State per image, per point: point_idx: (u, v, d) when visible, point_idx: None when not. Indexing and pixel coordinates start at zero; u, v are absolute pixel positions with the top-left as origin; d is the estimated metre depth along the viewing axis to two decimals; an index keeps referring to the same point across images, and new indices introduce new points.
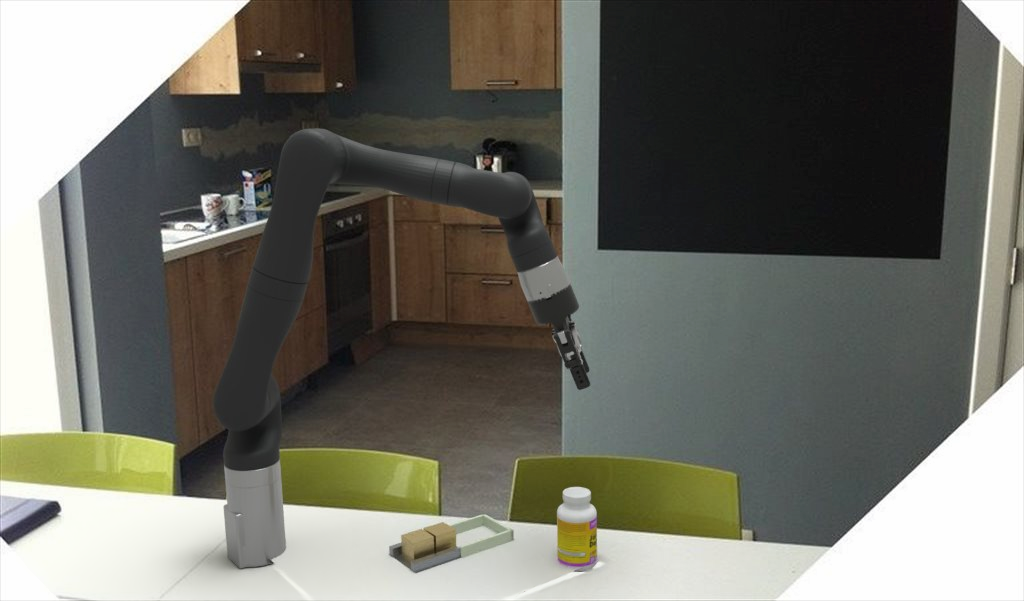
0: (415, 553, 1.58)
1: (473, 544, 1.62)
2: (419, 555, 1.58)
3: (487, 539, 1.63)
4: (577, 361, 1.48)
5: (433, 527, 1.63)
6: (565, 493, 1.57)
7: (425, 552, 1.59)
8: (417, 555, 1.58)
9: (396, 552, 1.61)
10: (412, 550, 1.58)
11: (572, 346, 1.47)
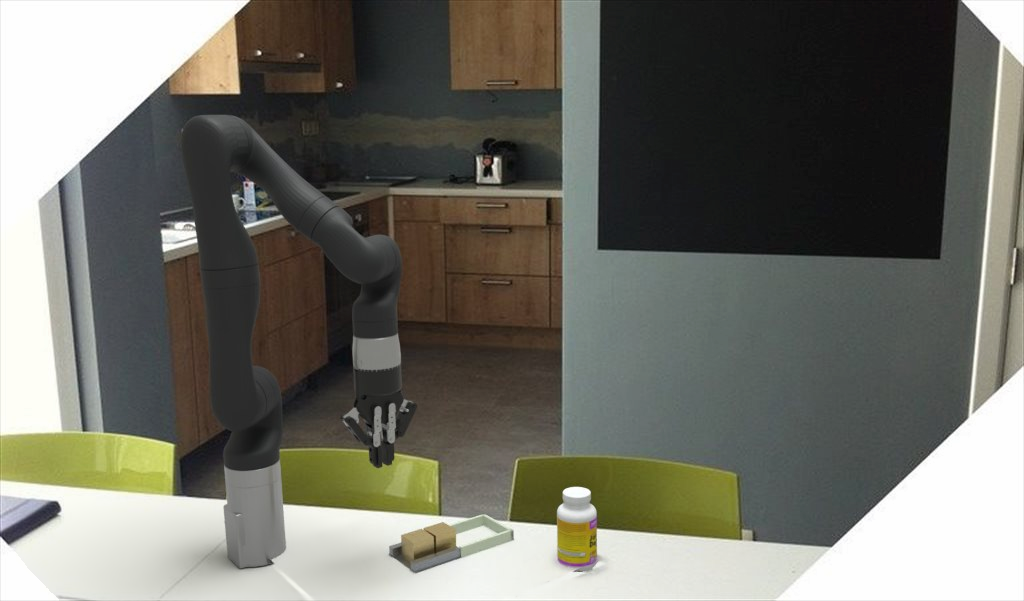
0: (415, 553, 1.58)
1: (473, 544, 1.62)
2: (419, 555, 1.58)
3: (487, 539, 1.63)
4: None
5: (433, 527, 1.63)
6: (565, 493, 1.57)
7: (425, 552, 1.59)
8: (417, 555, 1.58)
9: (396, 552, 1.61)
10: (412, 550, 1.58)
11: (354, 433, 1.49)
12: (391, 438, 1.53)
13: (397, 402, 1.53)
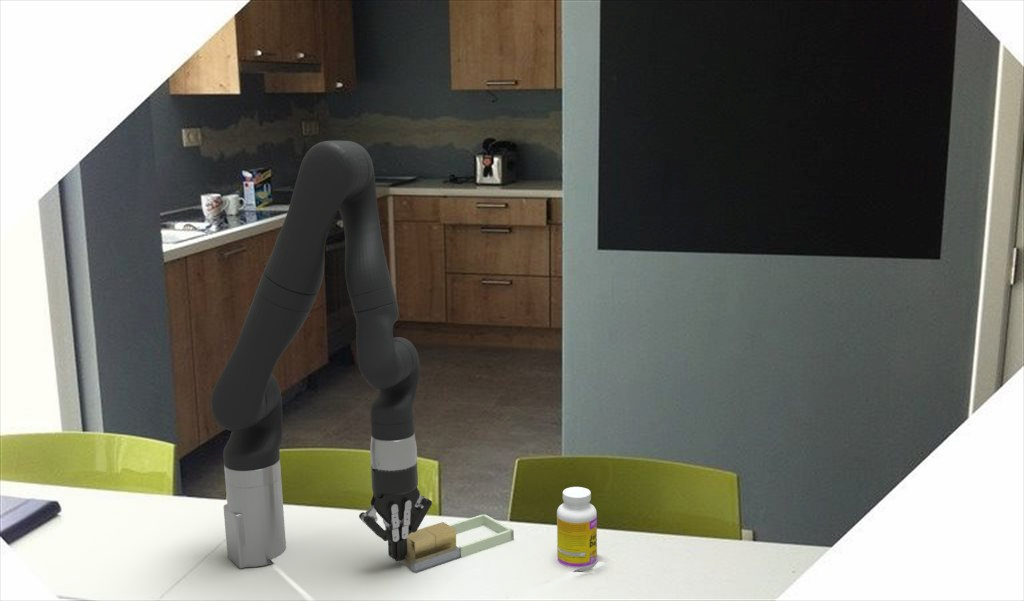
0: (416, 552, 1.58)
1: (473, 544, 1.62)
2: (421, 555, 1.59)
3: (487, 539, 1.63)
4: None
5: (433, 527, 1.63)
6: (565, 493, 1.57)
7: (427, 551, 1.59)
8: (419, 554, 1.58)
9: None
10: (413, 549, 1.58)
11: (373, 530, 1.53)
12: (404, 534, 1.57)
13: (413, 498, 1.57)
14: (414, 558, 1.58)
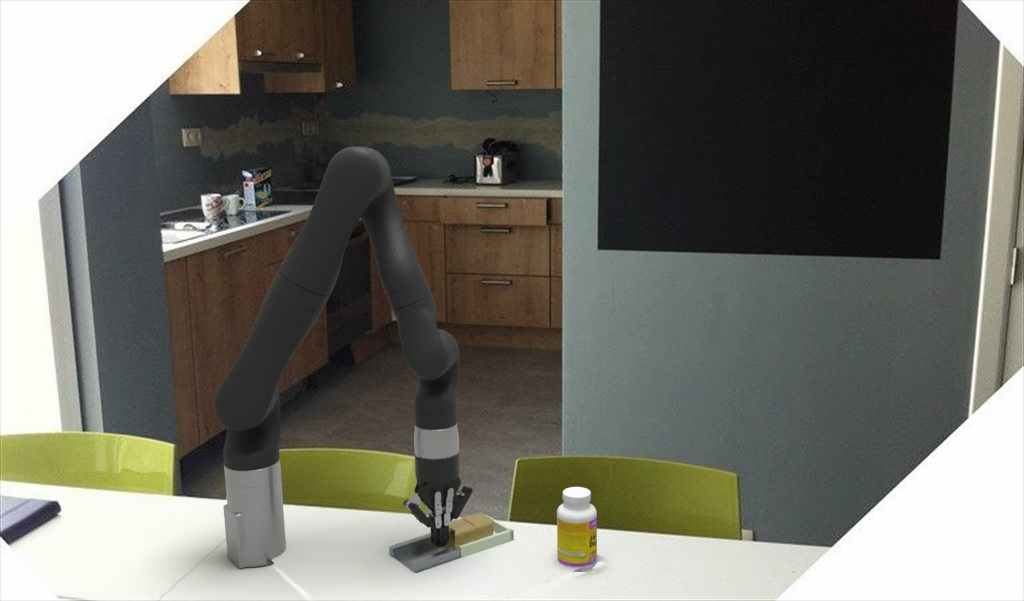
0: (456, 540, 1.63)
1: (473, 544, 1.62)
2: (460, 543, 1.63)
3: (487, 539, 1.63)
4: None
5: (472, 516, 1.68)
6: (565, 493, 1.57)
7: (466, 540, 1.64)
8: (458, 543, 1.63)
9: (396, 552, 1.61)
10: (453, 537, 1.63)
11: (417, 517, 1.58)
12: (446, 521, 1.61)
13: (455, 486, 1.61)
14: (454, 546, 1.63)
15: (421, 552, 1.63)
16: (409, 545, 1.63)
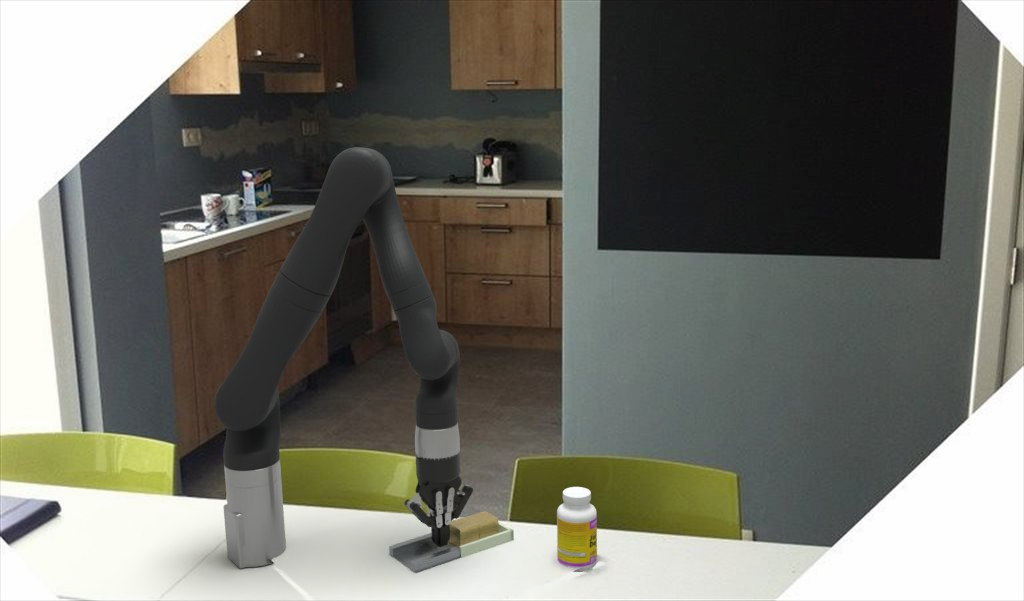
0: (461, 539, 1.64)
1: (473, 544, 1.62)
2: (466, 542, 1.64)
3: (487, 539, 1.63)
4: None
5: (476, 515, 1.69)
6: (565, 493, 1.57)
7: (471, 538, 1.65)
8: (464, 541, 1.64)
9: (396, 552, 1.61)
10: (458, 536, 1.64)
11: (419, 517, 1.59)
12: (447, 520, 1.62)
13: (455, 486, 1.62)
14: (459, 545, 1.64)
15: (421, 552, 1.63)
16: (409, 545, 1.63)
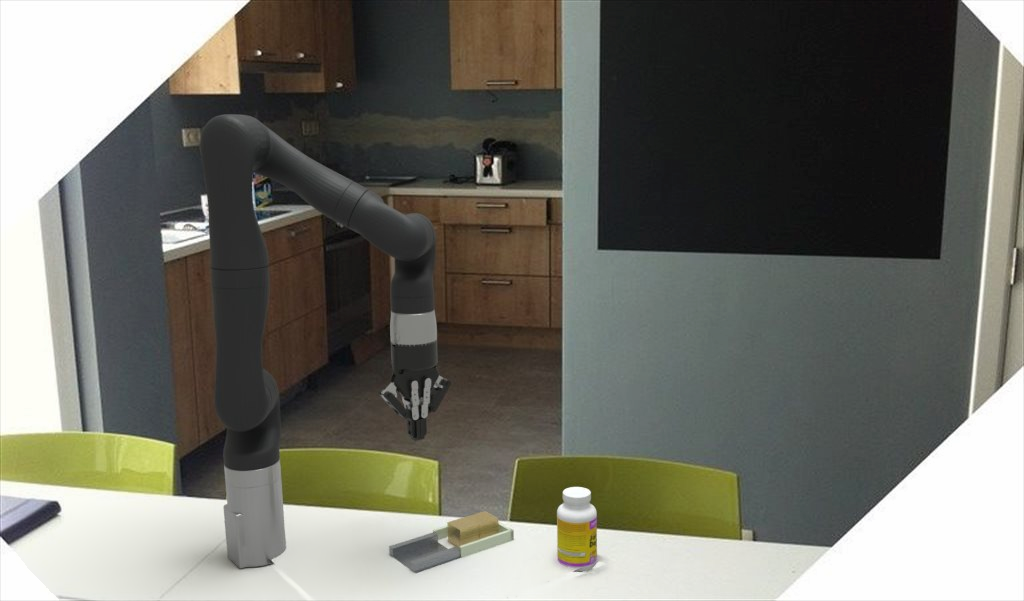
0: (461, 539, 1.64)
1: (473, 544, 1.62)
2: (466, 542, 1.64)
3: (487, 539, 1.63)
4: None
5: (476, 515, 1.69)
6: (565, 493, 1.57)
7: (471, 538, 1.65)
8: (464, 541, 1.64)
9: (396, 552, 1.61)
10: (458, 536, 1.64)
11: (393, 407, 1.53)
12: (424, 413, 1.56)
13: (432, 377, 1.56)
14: (459, 545, 1.64)
15: (421, 552, 1.63)
16: (409, 545, 1.63)
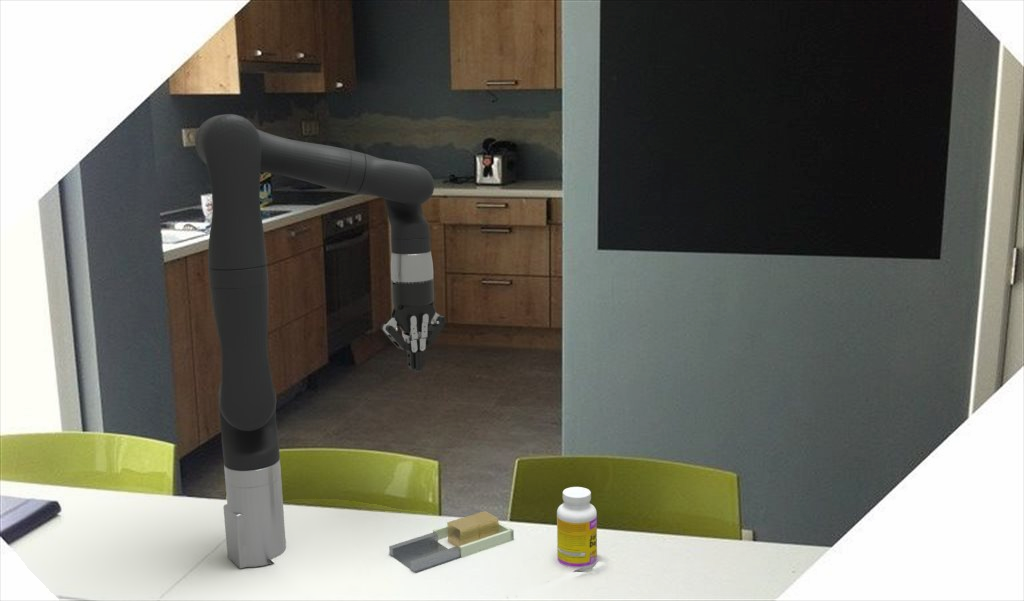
0: (461, 539, 1.64)
1: (473, 544, 1.62)
2: (466, 542, 1.64)
3: (487, 539, 1.63)
4: None
5: (476, 515, 1.69)
6: (565, 493, 1.57)
7: (471, 538, 1.65)
8: (464, 541, 1.64)
9: (396, 552, 1.61)
10: (458, 536, 1.64)
11: (394, 339, 1.68)
12: (422, 346, 1.71)
13: (430, 313, 1.72)
14: (459, 545, 1.64)
15: (421, 552, 1.63)
16: (409, 545, 1.63)
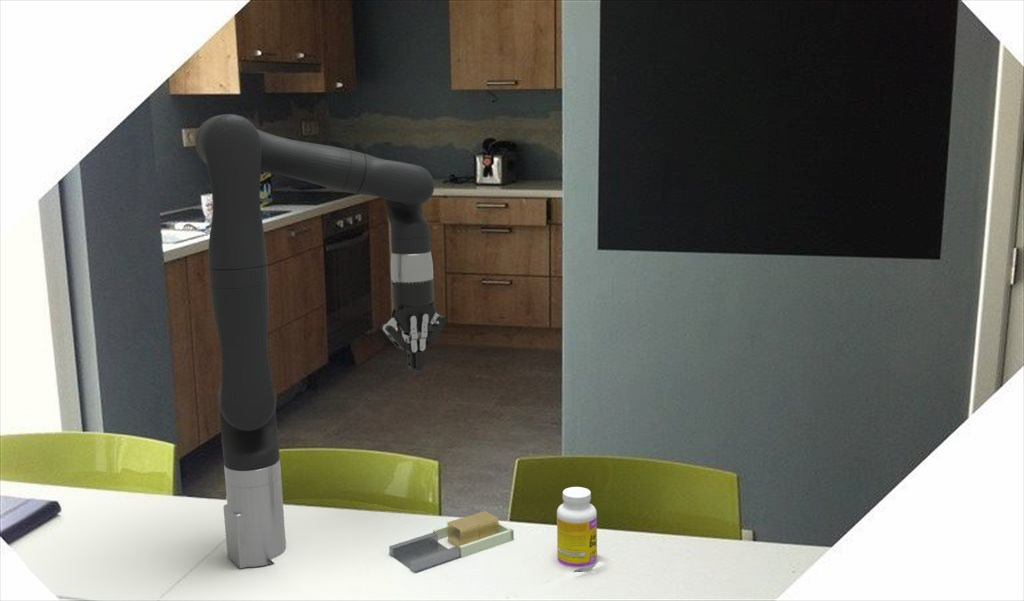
0: (461, 539, 1.64)
1: (473, 544, 1.62)
2: (466, 542, 1.64)
3: (487, 539, 1.63)
4: None
5: (476, 515, 1.69)
6: (565, 493, 1.57)
7: (471, 538, 1.65)
8: (464, 541, 1.64)
9: (396, 552, 1.61)
10: (458, 536, 1.64)
11: (394, 339, 1.68)
12: (422, 346, 1.72)
13: (429, 313, 1.72)
14: (459, 545, 1.64)
15: (421, 552, 1.63)
16: (409, 545, 1.63)
